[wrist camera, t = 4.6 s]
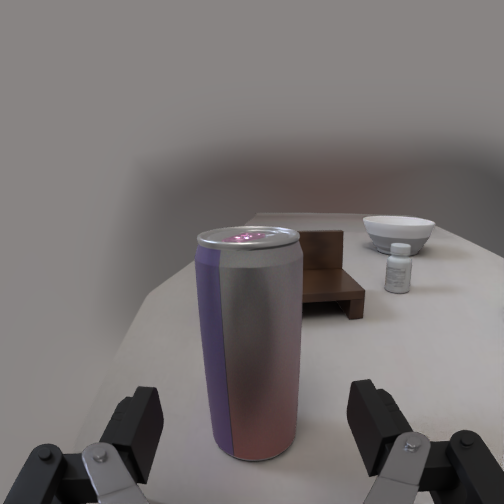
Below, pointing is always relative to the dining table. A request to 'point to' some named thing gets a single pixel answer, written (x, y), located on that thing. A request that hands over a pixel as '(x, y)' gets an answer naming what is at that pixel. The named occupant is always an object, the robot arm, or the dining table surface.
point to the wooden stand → (329, 272)
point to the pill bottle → (398, 268)
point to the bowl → (398, 232)
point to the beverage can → (251, 335)
